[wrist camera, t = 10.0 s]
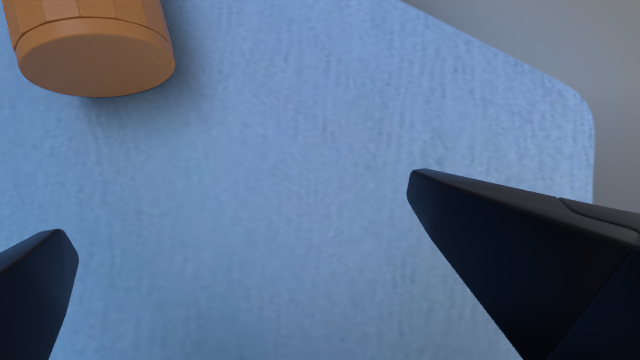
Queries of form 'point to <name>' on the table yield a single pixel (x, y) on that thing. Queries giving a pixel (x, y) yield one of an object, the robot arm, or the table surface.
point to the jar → (91, 45)
